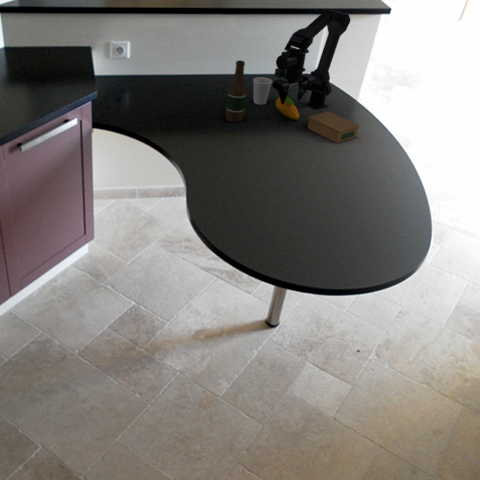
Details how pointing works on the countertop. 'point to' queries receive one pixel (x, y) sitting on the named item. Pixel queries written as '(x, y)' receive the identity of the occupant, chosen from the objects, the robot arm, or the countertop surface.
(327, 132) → the takeaway box
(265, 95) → the dixie cup
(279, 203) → the countertop surface
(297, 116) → the corn
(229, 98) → the beer bottle
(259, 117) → the countertop surface
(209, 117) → the countertop surface
